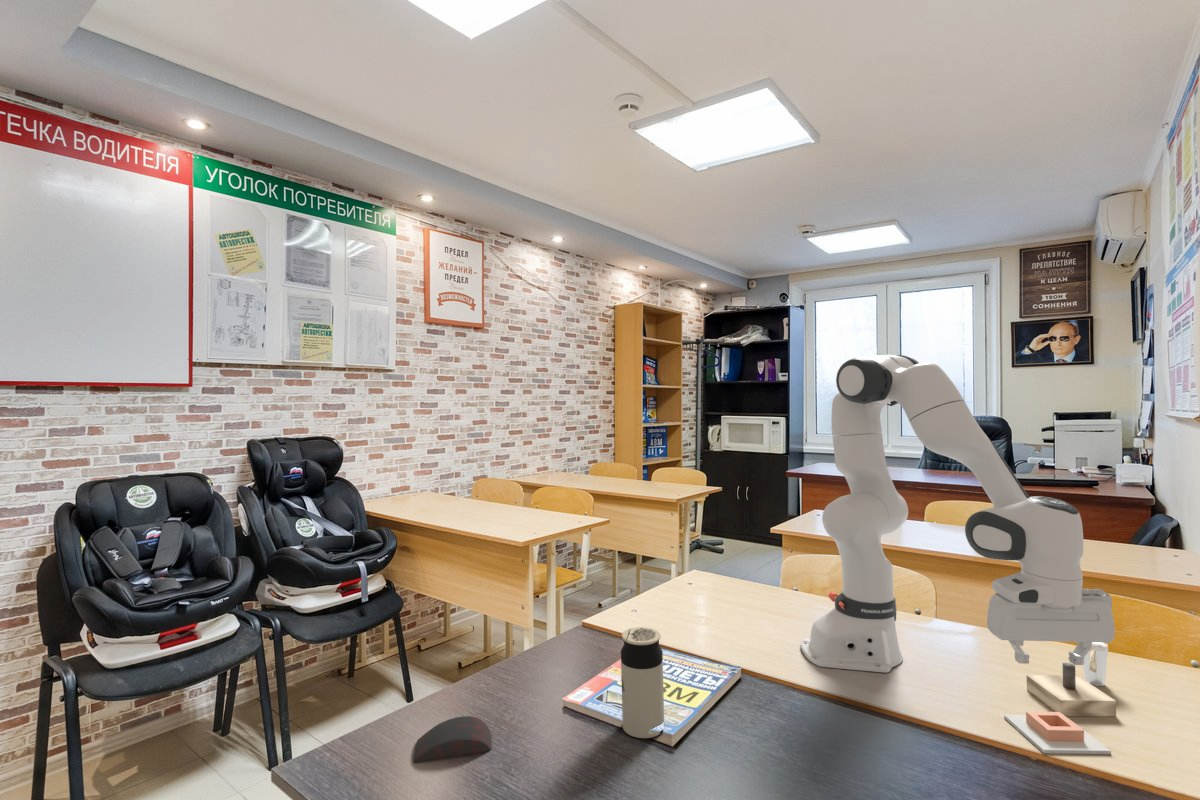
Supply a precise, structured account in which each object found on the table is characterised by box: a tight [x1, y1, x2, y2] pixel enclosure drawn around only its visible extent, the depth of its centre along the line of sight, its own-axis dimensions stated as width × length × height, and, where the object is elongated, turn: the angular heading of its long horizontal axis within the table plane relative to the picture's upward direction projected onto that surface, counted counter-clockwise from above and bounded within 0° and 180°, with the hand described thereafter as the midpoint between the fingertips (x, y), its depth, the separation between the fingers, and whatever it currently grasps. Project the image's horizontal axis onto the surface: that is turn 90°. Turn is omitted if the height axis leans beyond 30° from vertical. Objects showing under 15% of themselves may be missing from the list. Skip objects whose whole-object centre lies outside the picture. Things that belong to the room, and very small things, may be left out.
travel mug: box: [620, 626, 665, 739], centre depth 112 cm, size 8×8×18 cm
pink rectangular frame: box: [1025, 711, 1085, 742], centre depth 106 cm, size 6×6×2 cm
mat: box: [1003, 714, 1112, 755], centre depth 106 cm, size 11×11×1 cm
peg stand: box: [1026, 662, 1117, 717], centre depth 117 cm, size 10×10×8 cm
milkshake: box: [1082, 642, 1109, 687], centre depth 124 cm, size 4×5×10 cm
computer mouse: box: [413, 715, 493, 764], centre depth 108 cm, size 8×14×4 cm, turn 102°
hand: (1048, 662), depth 107 cm, fingers open, 8 cm apart
